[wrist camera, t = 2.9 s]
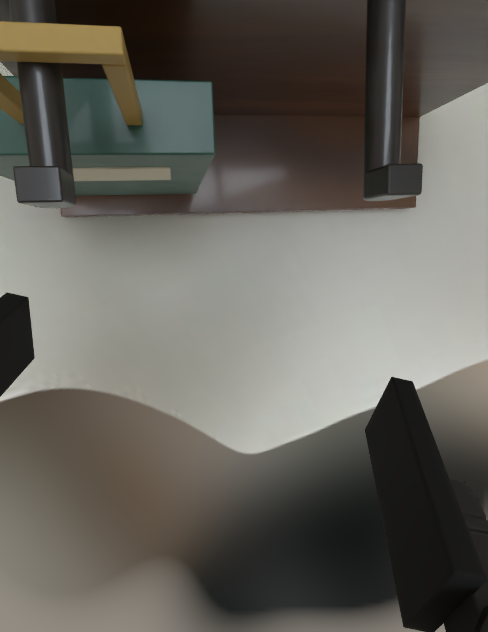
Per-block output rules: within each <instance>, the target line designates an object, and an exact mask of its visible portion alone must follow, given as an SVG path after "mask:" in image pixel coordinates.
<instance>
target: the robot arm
mask: <svg viewBox="0 0 488 632" xmlns="http://www.w3.org/2000/svg"><path fill="white" fill-rule="evenodd" d="M33 359H34V348H33V338H32V329H31V319H30V309H29V300H28V297H25V296H20V295H15V294H11V293H6V294H4V295H3V296H2V297H1V298H0V397H1V395H2V394H3V393H4V392H5V391H6V390H7V389H8V387H9V386H10V385H11V384H12V383H13V382H14V381H15V380H16V378H17V377H18V376H19V375H20V374H21V373H22V372H23V371H24V369H25V368H26V367H27V366H28V365H29V364H30V363H31V362H32V360H33ZM365 433H366V438H367V443H368V448H369V453H370V458H371V464H372V469H373V474H374V479H375V484H376V489H377V494H378V499H379V505H380V510H381V515H382V520H383V525H384V530H385V535H386V539H387V545H388V550H389V555H390V560H391V566H392V571H393V576H394V581H395V585H396V591H397V596H398V601H399V606H400V612H401V617H402V622H403V626H404V627H405V628H410V629H415V630H419V631H424V632H435V631H436V630H437V629H438V628H439V627H440V626H441V625H442V624H443V623H444V626H445V630H446V632H488V521H487V520H486V515H485V513H484V511H483V508H482V506H481V504H480V501H479V499H478V498H477V496H476V495H475V494H474V493H473V491H472V490H471V489H470V488H469V486H468V485H467V484H466V482H463V481H459V480H454V479H450V478H449V477H448V474H447V472H446V469H445V466H444V464H443V461H442V459H441V456H440V453H439V450H438V448H437V445H436V443H435V440H434V437H433V434H432V432H431V429H430V427H429V424H428V421H427V419H426V416H425V413H424V411H423V408H422V405H421V403H420V400H419V397H418V395H417V392H416V389H415V387H414V384H413V382H412V381H408V380H403V379H399V378H394V377H391V379H390V381H389V383H388V385H387V387H386V389H385V391H384V393H383V395H382V397H381V399H380V401H379V403H378V405H377V407H376V409H375V411H374V413H373V415H372V417H371V419H370V421H369V423H368V425H367V427H366V429H365Z"/></svg>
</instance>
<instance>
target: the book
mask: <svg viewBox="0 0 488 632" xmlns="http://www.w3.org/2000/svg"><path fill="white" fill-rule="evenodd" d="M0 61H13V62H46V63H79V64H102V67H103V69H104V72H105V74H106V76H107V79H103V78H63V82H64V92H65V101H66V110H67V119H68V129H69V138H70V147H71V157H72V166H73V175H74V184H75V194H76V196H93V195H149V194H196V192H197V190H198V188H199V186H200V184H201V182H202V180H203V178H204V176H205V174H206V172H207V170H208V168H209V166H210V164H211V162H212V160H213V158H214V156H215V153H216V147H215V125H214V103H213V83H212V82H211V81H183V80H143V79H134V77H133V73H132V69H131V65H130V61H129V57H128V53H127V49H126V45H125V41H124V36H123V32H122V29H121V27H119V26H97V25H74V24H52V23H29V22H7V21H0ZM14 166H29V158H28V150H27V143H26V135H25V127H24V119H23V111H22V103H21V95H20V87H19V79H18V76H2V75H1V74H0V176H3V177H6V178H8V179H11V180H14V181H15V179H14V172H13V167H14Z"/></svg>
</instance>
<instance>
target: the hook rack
mask: <svg viewBox="0 0 488 632" xmlns="http://www.w3.org/2000/svg"><path fill="white" fill-rule="evenodd" d="M0 21H7V22H29V23H52V24H74V25H97V26H119V27H121V29H122V32H123V36H124V41H125V45H126V49H127V53H128V57H129V61H130V65H131V69H132V73H133V77H134V79H143V80H183V81H211V82H212V83H213V103H214V125H215V147H216V153H215V156H214V158H213V160H212V162H211V164H210V166H209V168H208V170H207V172H206V174H205V176H204V178H203V180H202V182H201V184H200V186H199V188H198V190H197V192H196V194H149V195H93V196H76V194H75V184H74V175H73V166H72V157H71V147H70V138H69V129H68V119H67V110H66V101H65V92H64V82H63V78H103V79H107V76H106V74H105V72H104V69H103V67H102V64H79V63H46V62H13V61H0V62H1V63H2V64H3V65H4V66H5V67H6V68H7V69H8V70H9V71H10V72H11V73H12V74H13V75H14V76H18V79H19V87H20V95H21V103H22V111H23V119H24V127H25V135H26V143H27V150H28V158H29V166H14V167H13V172H14V179H15V187H16V194H17V201H18V202H19V203H22V204H26V205H30V206H35V207H41V208H61V216H63V217H90V216H129V215H169V214H208V213H247V212H286V211H325V210H364V209H403V208H414V207H415V206H416V195H420V194H421V190H422V168H423V166H422V164H420V163H418V164H417V160H418V136H419V117H420V116H422V115H424V114H426V113H428V112H430V111H432V110H434V109H436V108H438V107H440V106H442V105H444V104H446V103H448V102H450V101H452V100H454V99H456V98H458V97H460V96H462V95H464V94H466V93H468V92H470V91H472V90H474V89H476V88H478V87H480V86H482V85H484V84H486V83H488V0H0Z"/></svg>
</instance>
